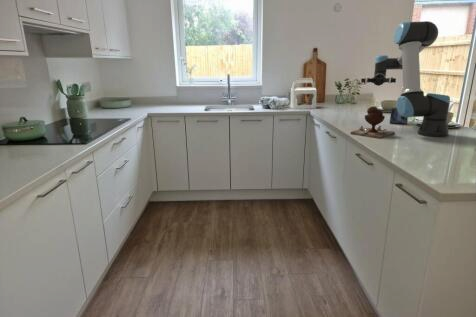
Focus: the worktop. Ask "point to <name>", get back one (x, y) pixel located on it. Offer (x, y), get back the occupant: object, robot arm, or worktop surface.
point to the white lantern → (303, 90)
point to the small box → (397, 117)
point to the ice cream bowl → (374, 118)
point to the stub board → (365, 132)
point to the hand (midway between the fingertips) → (377, 81)
